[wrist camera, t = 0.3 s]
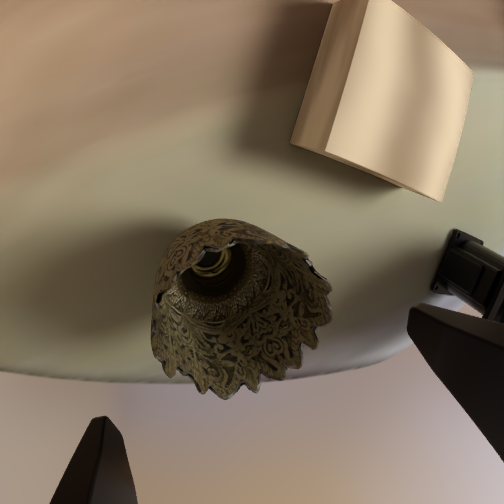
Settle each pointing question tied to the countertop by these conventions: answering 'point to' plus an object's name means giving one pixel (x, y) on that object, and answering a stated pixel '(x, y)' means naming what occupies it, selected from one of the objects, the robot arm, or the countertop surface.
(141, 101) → the countertop surface
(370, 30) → the pedestal
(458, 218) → the countertop surface
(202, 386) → the cup
